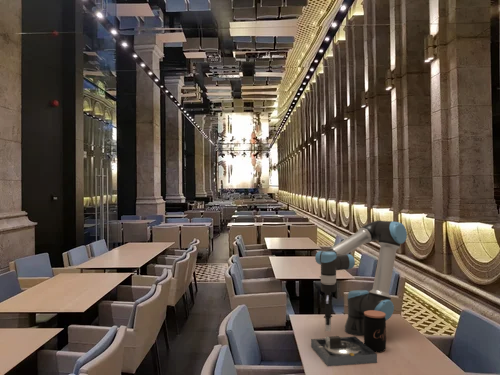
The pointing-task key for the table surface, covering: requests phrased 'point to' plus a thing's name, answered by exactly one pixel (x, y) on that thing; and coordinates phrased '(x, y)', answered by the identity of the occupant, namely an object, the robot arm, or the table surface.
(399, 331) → the table surface
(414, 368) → the table surface
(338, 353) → the dial
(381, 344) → the coffee jar
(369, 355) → the grey square tray
